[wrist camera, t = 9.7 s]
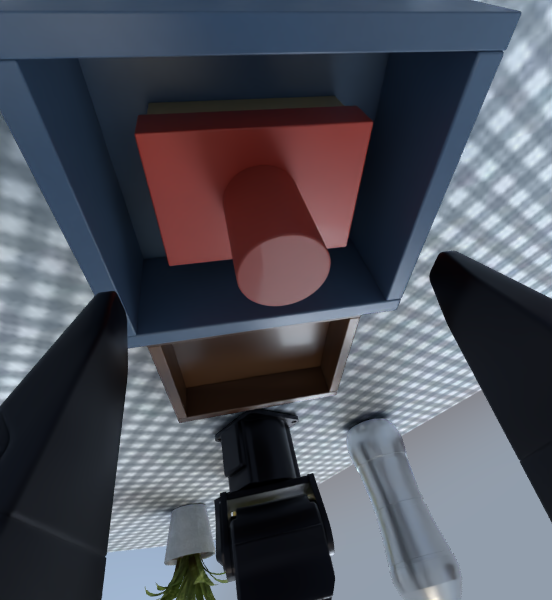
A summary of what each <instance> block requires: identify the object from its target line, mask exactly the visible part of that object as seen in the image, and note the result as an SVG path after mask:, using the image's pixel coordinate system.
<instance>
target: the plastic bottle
mask: <svg viewBox="0 0 552 600" xmlns="http://www.w3.org/2000/svg"><path fill="white" fill-rule="evenodd" d="M346 442H347V448H348V453H349V455H350V457H351V459H352V462H353V464H354V466H355V467H356V469H357V471H358V472H359V474H360V476H361V479H362V481H363V483H364V486H365V488H366V491H367V493H368V495H369V498H370V500H371V502H372V505H373V508H374V512H375V514H376V516H377V522H378V525H379V529H380V532H381V535H382V539H383V543H384V548H385V552H386V557H387V561H388V566H389V567H390V574H391V578H392V581H393V584H394V586H395V587H396V589H397V591H398V593H399V594H400V596H401V597H402V598H403V599H404V600H461V595H462V576H461V571H460V567H459V564H458V562H457V560H456V558H455V556H454V554H453V553H452V552H451V549H450V547H449V545H448V544H447V542H446V540H445V539H444V537H443V535H442V533H441V532H440V530H439V528H438V526H437V525H436V523H435V521H434V519H433V518H432V516H431V513H430V511H429V509H428V507H427V505H426V504H425V503H424V501H423V497H422V495H421V493H420V491H419V489H418V486H417V483H416V481H415V478H414V475H413V472H412V469H411V467H410V464H409V461H408V459H407V453H406V449H405V446H404V443H403V439H402V436H401V435H400V433H399V431H398V430H397V428H396V427H395V425H394V424H393V423H391V422H390V421H389V420H387V419H384V418H376V419H371V420H367V421H364V422H361V423H359V424H357V425H355V426H354V427H352V428H351V429H350V430H349V432H348V435H347V439H346Z"/></svg>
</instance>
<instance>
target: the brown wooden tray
mask: <svg viewBox="0 0 552 600" xmlns="http://www.w3.org/2000/svg"><path fill="white" fill-rule="evenodd" d="M360 316H361V315H357V316H350V317H343V318H336V319H329V320H322V321H315V322H308V323H301V324H294V325H287V326H280V327H273V328H266V329H259V330H252V331H246V332H239V333H232V334H225V335H218V336H211V337H204V338H197V339H190V340H183V341H176V342H169V343H162V344H155V345H148V349H149V351H150V354H151V356H152V359H153V361H154V363H155V366H156V368H157V371H158V373H159V375H160V378H161V380H162V383H163V385H164V387H165V390H166V392H167V395H168V397H169V399H170V402H171V404H172V407H173V409H174V411H175V414H176V416H177V418H178V421H179V423H182V422H188V421H193V420H199V419H204V418H210V417H215V416H221V415H227V414H232V413H238V412H243V411H249V410H255V409H260V408H266V407H271V406H277V405H282V404H288V403H294V402H299V401H305V400H310V399H316V398H321V397H327V396H333V395H336V393H337V390H338V387H339V383H340V380H341V377H342V374H343V371H344V367H345V364H346V361H347V358H348V355H349V351H350V348H351V345H352V342H353V338H354V335H355V332H356V329H357V326H358V322H359V319H360Z"/></svg>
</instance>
